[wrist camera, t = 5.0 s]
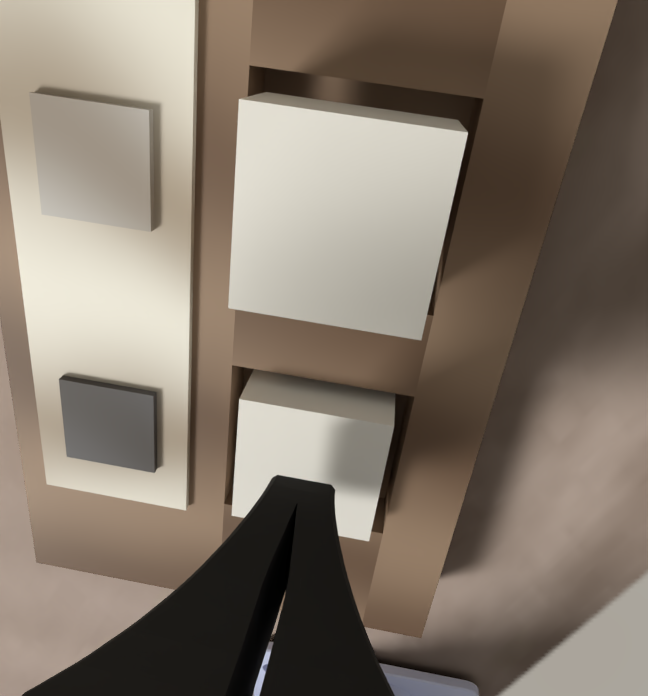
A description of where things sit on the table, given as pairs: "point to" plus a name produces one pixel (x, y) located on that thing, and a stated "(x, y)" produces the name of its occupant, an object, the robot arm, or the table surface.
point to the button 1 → (314, 443)
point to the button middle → (340, 211)
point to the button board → (215, 257)
